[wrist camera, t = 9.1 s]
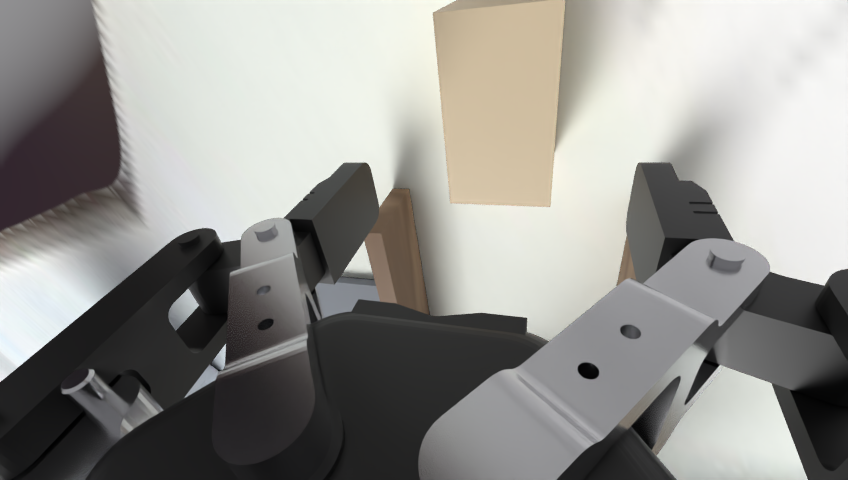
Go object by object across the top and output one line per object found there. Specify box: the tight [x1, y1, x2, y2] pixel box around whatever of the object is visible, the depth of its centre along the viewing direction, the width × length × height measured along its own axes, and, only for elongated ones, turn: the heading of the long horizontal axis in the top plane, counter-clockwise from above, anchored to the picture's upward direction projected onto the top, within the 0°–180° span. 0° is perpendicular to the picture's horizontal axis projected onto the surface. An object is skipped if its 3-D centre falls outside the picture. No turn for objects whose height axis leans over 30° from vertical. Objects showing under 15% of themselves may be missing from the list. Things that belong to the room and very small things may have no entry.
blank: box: [433, 0, 565, 207], centre depth 16 cm, size 4×7×5 cm, turn 7°
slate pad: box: [316, 277, 380, 318], centre depth 30 cm, size 8×8×1 cm
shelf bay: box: [364, 189, 636, 315], centre depth 24 cm, size 14×17×4 cm
